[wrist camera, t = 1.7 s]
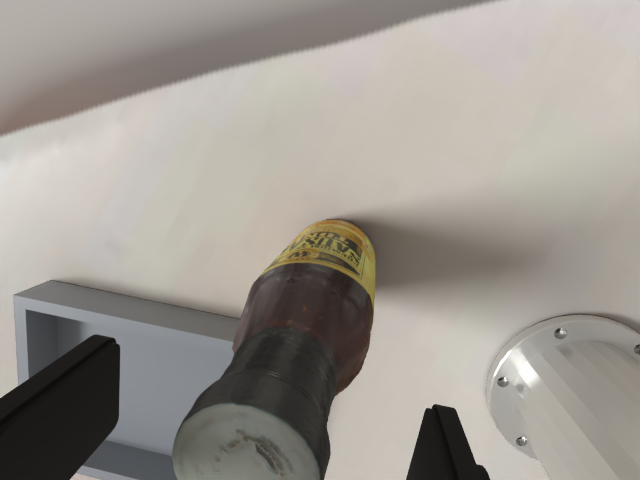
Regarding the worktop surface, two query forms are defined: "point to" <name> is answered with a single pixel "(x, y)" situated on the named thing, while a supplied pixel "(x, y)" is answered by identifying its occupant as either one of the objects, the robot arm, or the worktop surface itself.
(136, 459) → the tray
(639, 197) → the worktop surface
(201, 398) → the sauce bottle
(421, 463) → the robot arm
